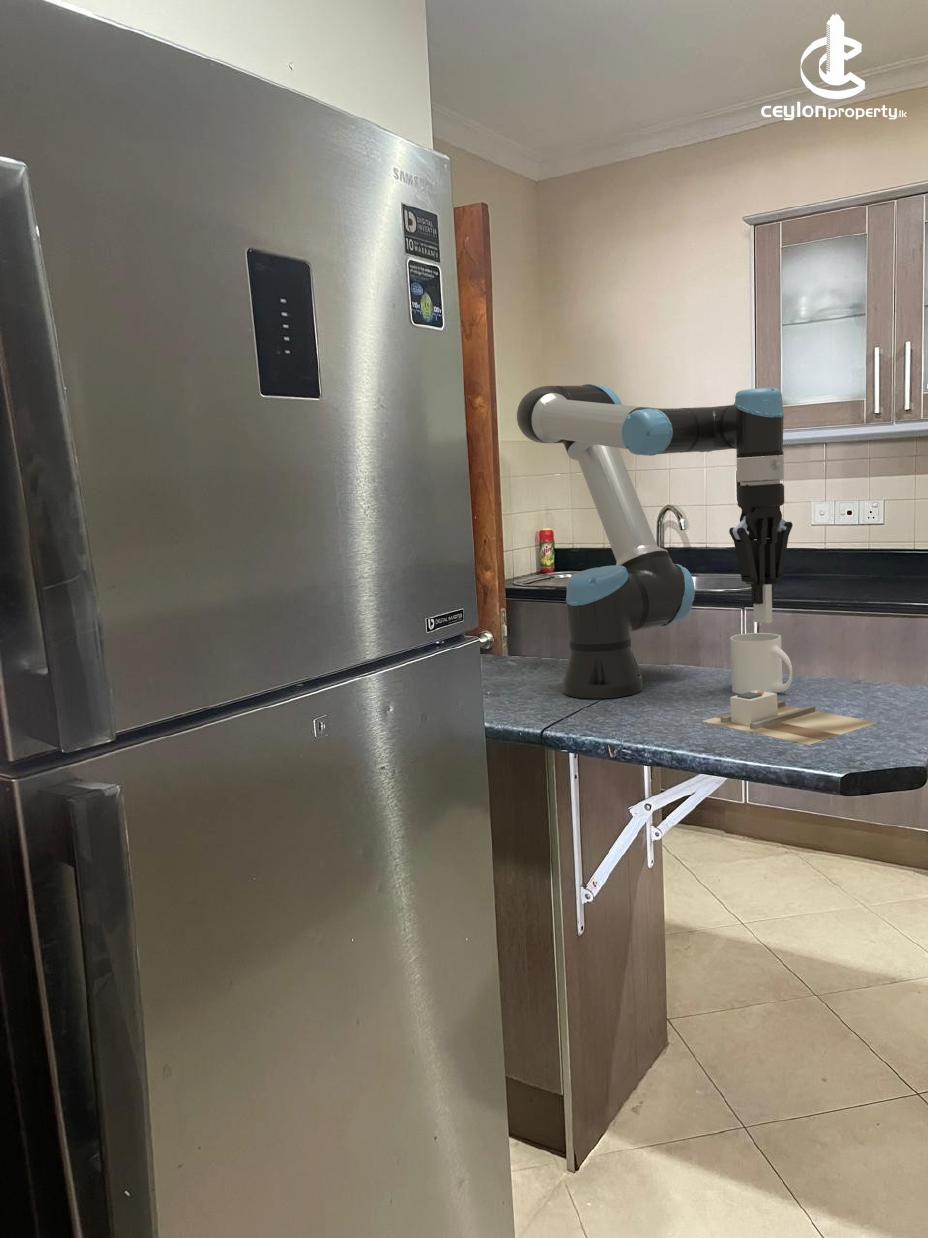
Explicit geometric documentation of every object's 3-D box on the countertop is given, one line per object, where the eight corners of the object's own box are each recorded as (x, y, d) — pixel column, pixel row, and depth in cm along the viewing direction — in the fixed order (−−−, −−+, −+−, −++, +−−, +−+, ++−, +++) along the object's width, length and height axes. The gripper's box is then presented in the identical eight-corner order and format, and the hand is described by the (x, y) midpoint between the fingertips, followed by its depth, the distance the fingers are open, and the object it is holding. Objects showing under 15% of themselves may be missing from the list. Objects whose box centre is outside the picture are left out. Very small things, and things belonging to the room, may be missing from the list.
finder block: (731, 722, 146) (730, 695, 145) (757, 714, 149) (756, 688, 148) (751, 726, 142) (750, 699, 142) (777, 718, 145) (777, 691, 145)
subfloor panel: (701, 728, 148) (701, 716, 148) (769, 709, 156) (769, 697, 156) (808, 753, 131) (808, 739, 131) (878, 730, 139) (877, 717, 139)
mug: (775, 707, 157) (772, 645, 156) (721, 697, 167) (719, 638, 166) (809, 698, 161) (807, 637, 160) (755, 688, 172) (753, 631, 170)
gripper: (750, 485, 150) (753, 629, 153) (805, 480, 156) (806, 619, 160) (715, 486, 156) (719, 625, 160) (769, 481, 163) (772, 614, 166)
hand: (763, 621), depth 160 cm, fingers closed
